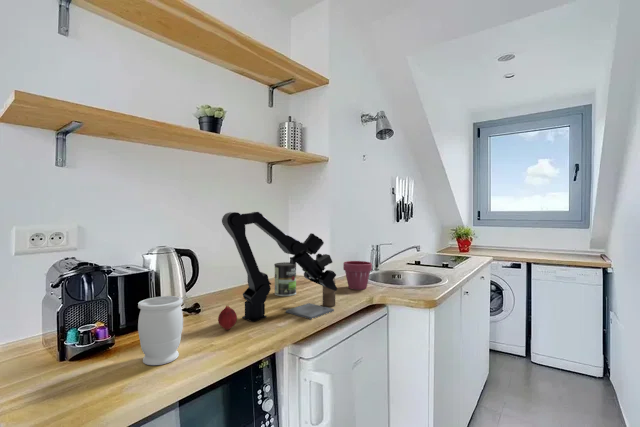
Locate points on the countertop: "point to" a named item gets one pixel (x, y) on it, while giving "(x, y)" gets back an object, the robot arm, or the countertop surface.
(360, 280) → the plant pot
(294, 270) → the coffee can
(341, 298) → the countertop surface
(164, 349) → the jar
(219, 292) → the countertop surface
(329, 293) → the pepper mill
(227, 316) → the onion
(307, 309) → the slate board
